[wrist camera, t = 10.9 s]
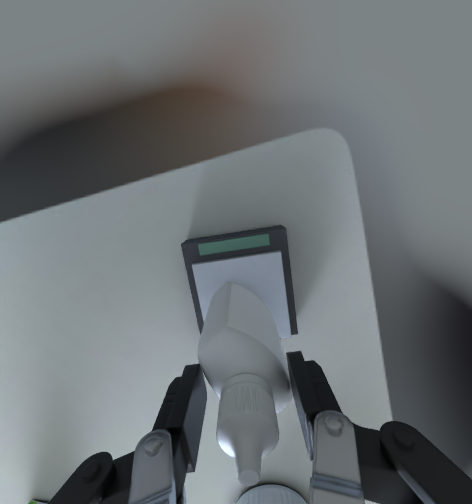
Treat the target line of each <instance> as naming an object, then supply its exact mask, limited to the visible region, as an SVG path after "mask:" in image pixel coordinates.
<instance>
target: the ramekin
mask: <svg viewBox="0 0 472 504" xmlns="http://www.w3.org/2000/svg"><path fill="white" fill-rule="evenodd" d="M236 504H307V503H306V502H305V500H304V499H303V498H302V497H301V496H300V495H299V494H298V493H296V492H295V491H293V490H292V489H290V488H287V487H284V486H280V485H262V486H258V487H255V488H252V489H250V490H248V491H247V492H246V493H244V494H243V495H242V496H241V497H240V499H239V500H238V501H237V503H236Z"/></svg>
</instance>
